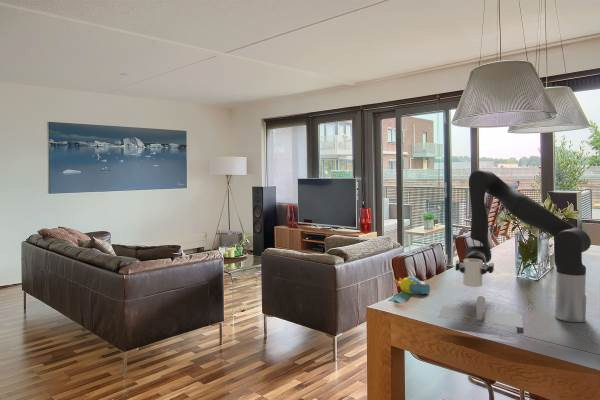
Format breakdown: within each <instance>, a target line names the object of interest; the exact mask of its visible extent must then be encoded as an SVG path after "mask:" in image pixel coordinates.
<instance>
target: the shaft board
mask: <svg viewBox="0 0 600 400" xmlns="http://www.w3.org/2000/svg"><path fill="white" fill-rule="evenodd" d="M438 318H443V319H450V320H459V321H465V322H466V321H467V322H475V323H483V324H491V325H498V326H506V327H514V328H516V332H521V333H524V324H523V323H524V322H523V315H522V314H517V313H509V312H501V311H500V312H499V311H491V310H486V297H484V296H483V295H478V296H477V298H476V309H474V308H464V307H457V306H456V307H455V306H445V305H442V307H441V310H440V312H439V314H438Z"/></svg>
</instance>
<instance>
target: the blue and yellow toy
mask: <svg viewBox="0 0 600 400" xmlns="http://www.w3.org/2000/svg"><path fill="white" fill-rule="evenodd" d="M393 281H394V283H395V285H396V286H395V287H396V288H398V287H400V290H401V291H400V292H399V293H397V294H396V295H393V296H392V297H391V298H389V299H388V301H389V302H392V303H398V304H403V303H405V302H406V301H408V300H410V299H411V298H412V297H413V295H414V294H415V295H429V294H430V292H431V285H430V284H429V283H427V282H426V281H423V280H420V279H419V278H418V277H414V276H410V275H408V276H407V277H403V278H401V277H399V278H398V280H397V279H396V278H395V279H394V280H393Z"/></svg>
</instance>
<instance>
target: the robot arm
mask: <svg viewBox="0 0 600 400" xmlns="http://www.w3.org/2000/svg"><path fill="white" fill-rule="evenodd" d="M468 189H469V190H468V191H469V198H470V199H469V201H470V211H471V212H470V214H471V215H470V216H471V219H470V222H471V223H470V235H469V236H470V239H471V240H474V241H477V242H480V243H481V244H482V245H474V244H473V245H468V246H466V247H465V250H464V255H465V257H464V258H465V259H470V258H472V259H480V260H483V267H482V276H483V275H486V274H487V273H489V274H492V273H493V272H494V271H495V263H494V262H491V263H489V262H490V261H491V259H492V250H491V247H490V243H489V227H490V225H489V221H490V220H489V216H488V213H487V212H488V211H487V208H486V203H485V202H486V201H485V200H486V199H485V197H486V194H489V195H490V196H492V197H494V198H495V199H496V200H497V201H500V203H501V204H502V205H503V206H504V208H505V209H506V210H507V211H508V212H509V213H510V214H511V215H513V216H514V218H516V219H518V220H519V221H521V222H522V223H524V224H526V225H529V226H530V227H532V228H535V229H538V230H541V231H543V232H546V233H547V234H549V235H551V236H552V237H554V241H553V253H554V254H553V257H554V258H553V260H554V261H553V262H554V264H555V268H556V269H555V270H556V272H555V277H556V278H555V304H554V305H555V307H554V312H555V313H554V317H555V318H556V319H558V320H561V321H565V322H569V323H586V321H587V320H586V317H587V316H586V314H587V296H586V282H587V281H586V280H587V279H586V277H587V276H586V274H587V266H586V265H584V264H583V260H582V259H583V257H582V256H583V255H582V254H583V253H584V252H586V251H587V250H589V249H590V247H591V245H592V241H591V237H590V235H589V234H588V233H587V232H586V231H585V230H583V229H581V228H579V227H578V226H576V225H573V224H572V223H569V222H567V221H565V220H563V219H562V218H560V217H559V216H557V215H556V214H554V213H553V212H552V211H550V210H549V209H547V208H546V207H545V206H543V205H541V204H540V203H539V202H538V201H535V200H534V199H533V198H531V197H529V196H528V195H526V194H524V193H522V192H521V191H519V190H518V189H516V188H514V187H512V186H510V185H508V184H507V183H506V182H505V181H503V180H502V179H501V178H500V177H499V176H497V174H496V173H494V172H492V171H489V170H481V169H477V170H476V169H475V170H474V171H473V172H471V174H470V175H469V177H468ZM487 263H488V264H487ZM463 265H464V261H463V262H460V261H459V260H455V271H459V272H461V274H463V273H464V267H463Z"/></svg>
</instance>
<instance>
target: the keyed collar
mask: <svg viewBox="0 0 600 400" xmlns="http://www.w3.org/2000/svg"><path fill="white" fill-rule="evenodd" d="M462 261H463V262H464V265H463V267H464V273H462V274H463V275H462V276H463V277H462V278H463V282H462V285H464V286H466V287H467V286H468V287H473V288H474V287H476V288H477V287H482V286H483V275H482V267H483V260H480V259H472V258H470V259H466V258H463V260H462Z"/></svg>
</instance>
